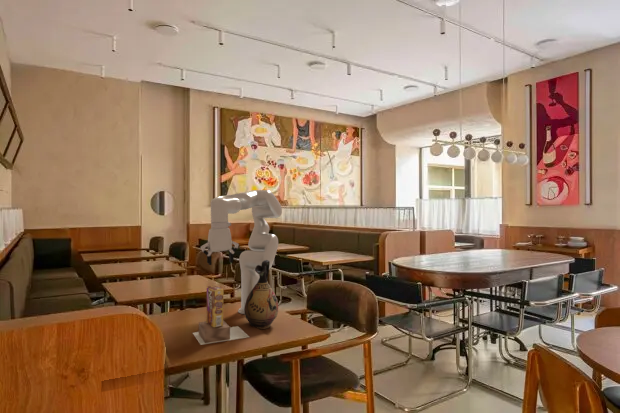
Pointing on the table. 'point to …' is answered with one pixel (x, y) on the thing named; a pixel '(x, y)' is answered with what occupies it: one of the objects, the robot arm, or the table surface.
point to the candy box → (214, 306)
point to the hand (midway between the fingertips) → (220, 263)
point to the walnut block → (214, 332)
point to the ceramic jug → (261, 300)
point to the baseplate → (234, 334)
